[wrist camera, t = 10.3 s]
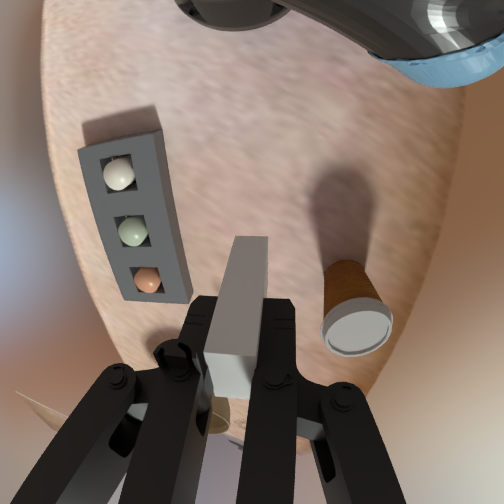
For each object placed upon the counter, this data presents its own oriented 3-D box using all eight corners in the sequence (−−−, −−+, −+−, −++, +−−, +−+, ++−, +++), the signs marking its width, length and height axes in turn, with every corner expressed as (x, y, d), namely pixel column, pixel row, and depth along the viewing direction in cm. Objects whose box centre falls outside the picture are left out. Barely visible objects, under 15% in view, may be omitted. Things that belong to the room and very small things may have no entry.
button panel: (89, 144, 34) (77, 149, 32) (162, 129, 33) (153, 133, 30) (130, 289, 48) (124, 300, 45) (193, 291, 47) (188, 304, 44)
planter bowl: (178, 352, 56) (165, 395, 47) (247, 378, 59) (242, 421, 50) (162, 382, 65) (150, 418, 56) (220, 403, 68) (213, 439, 58)
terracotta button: (139, 259, 44) (131, 272, 41) (161, 259, 44) (154, 272, 41) (146, 279, 46) (138, 292, 43) (167, 279, 46) (160, 293, 43)
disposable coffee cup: (304, 263, 42) (310, 323, 32) (365, 241, 39) (389, 296, 29) (324, 307, 46) (332, 366, 36) (379, 288, 43) (399, 345, 33)
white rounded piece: (113, 156, 35) (100, 163, 32) (137, 152, 35) (125, 159, 32) (119, 182, 37) (107, 191, 34) (143, 179, 37) (131, 188, 34)
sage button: (126, 211, 40) (115, 221, 37) (149, 209, 39) (139, 220, 36) (132, 234, 42) (122, 246, 39) (155, 233, 41) (146, 246, 38)
